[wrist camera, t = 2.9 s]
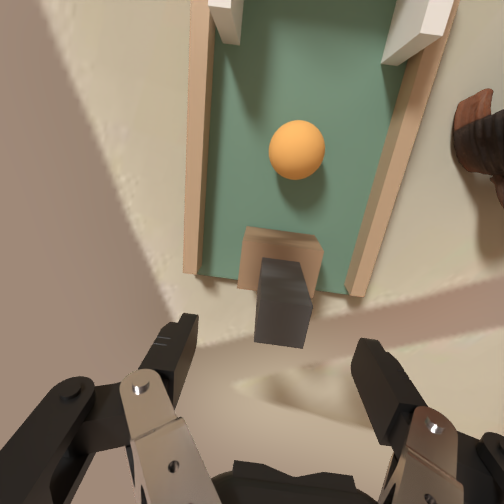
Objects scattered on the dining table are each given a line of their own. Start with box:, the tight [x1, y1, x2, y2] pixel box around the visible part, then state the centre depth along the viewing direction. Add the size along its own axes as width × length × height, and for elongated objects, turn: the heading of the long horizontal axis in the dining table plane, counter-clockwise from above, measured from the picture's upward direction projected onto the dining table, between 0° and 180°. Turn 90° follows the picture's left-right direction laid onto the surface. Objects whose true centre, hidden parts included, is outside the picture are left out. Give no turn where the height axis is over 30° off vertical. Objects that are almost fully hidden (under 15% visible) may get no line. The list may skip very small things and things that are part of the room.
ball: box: [269, 120, 325, 180], centre depth 19 cm, size 4×4×4 cm
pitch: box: [183, 0, 460, 297], centre depth 18 cm, size 16×26×6 cm, turn 173°
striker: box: [237, 226, 324, 349], centre depth 19 cm, size 6×4×10 cm, turn 83°
